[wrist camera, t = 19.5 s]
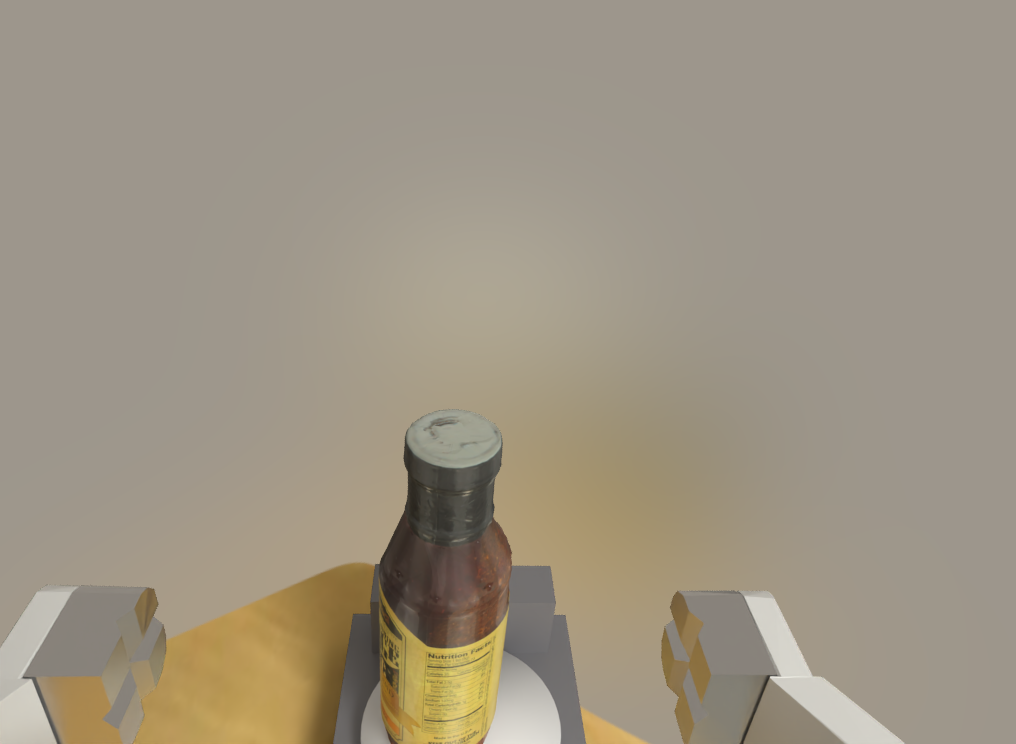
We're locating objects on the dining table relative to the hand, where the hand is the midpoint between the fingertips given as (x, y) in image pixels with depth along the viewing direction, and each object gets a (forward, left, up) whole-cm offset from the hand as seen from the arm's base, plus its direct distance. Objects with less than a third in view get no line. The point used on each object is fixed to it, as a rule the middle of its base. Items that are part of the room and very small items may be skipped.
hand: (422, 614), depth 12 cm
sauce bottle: (+1, +16, -28) cm, 33 cm away
